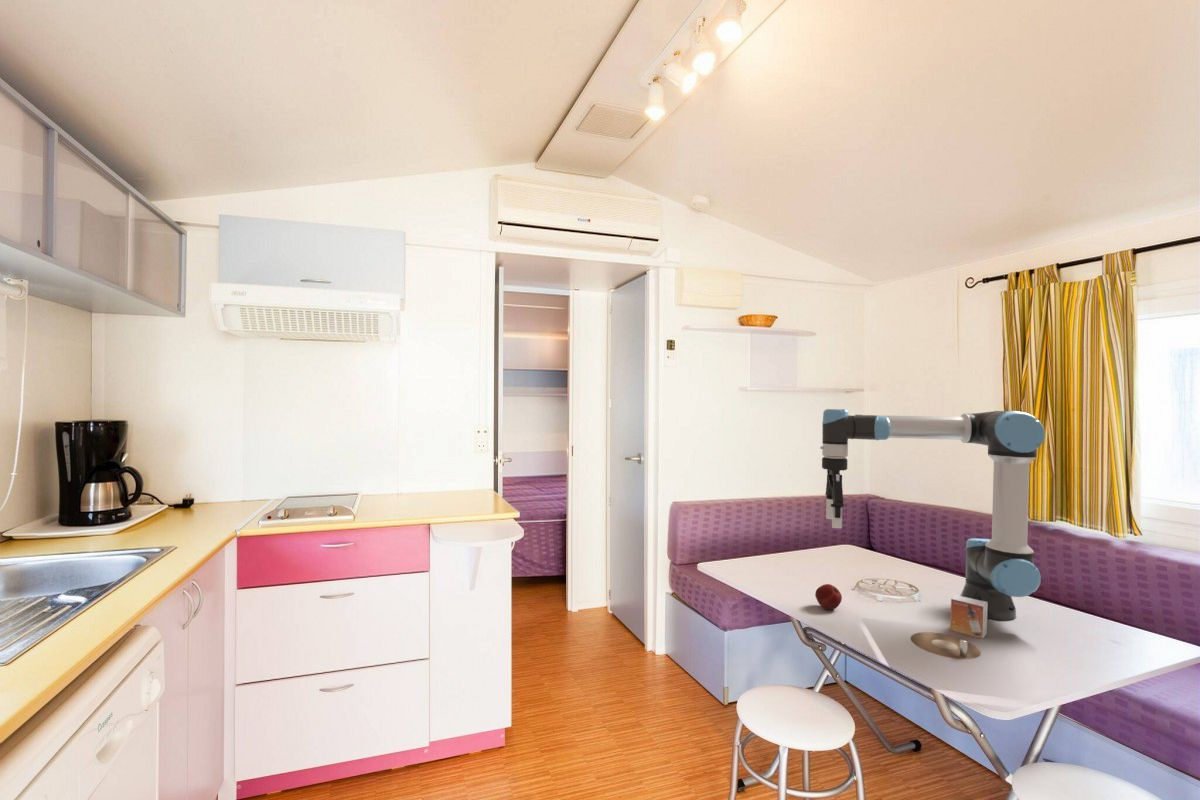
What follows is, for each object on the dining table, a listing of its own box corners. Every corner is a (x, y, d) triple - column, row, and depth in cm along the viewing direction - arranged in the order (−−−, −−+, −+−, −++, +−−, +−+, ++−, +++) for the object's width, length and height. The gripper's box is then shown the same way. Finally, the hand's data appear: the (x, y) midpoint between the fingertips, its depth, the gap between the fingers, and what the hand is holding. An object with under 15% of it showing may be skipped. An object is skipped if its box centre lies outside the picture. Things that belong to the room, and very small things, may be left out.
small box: (949, 635, 158) (950, 598, 158) (954, 629, 162) (955, 593, 162) (982, 644, 152) (983, 606, 152) (987, 638, 156) (987, 601, 156)
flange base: (966, 641, 153) (966, 635, 153) (992, 668, 138) (992, 662, 138) (903, 634, 157) (903, 629, 157) (921, 660, 142) (921, 653, 142)
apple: (833, 615, 171) (833, 589, 171) (810, 607, 177) (810, 583, 177) (845, 610, 175) (845, 585, 176) (822, 602, 181) (822, 578, 182)
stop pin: (965, 655, 142) (965, 639, 142) (968, 658, 140) (968, 642, 140) (958, 654, 142) (958, 639, 142) (961, 657, 140) (961, 641, 140)
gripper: (817, 453, 188) (816, 514, 188) (827, 460, 164) (826, 531, 164) (841, 454, 186) (840, 516, 186) (854, 461, 162) (853, 533, 162)
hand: (833, 523), depth 175 cm, fingers open, 13 cm apart
